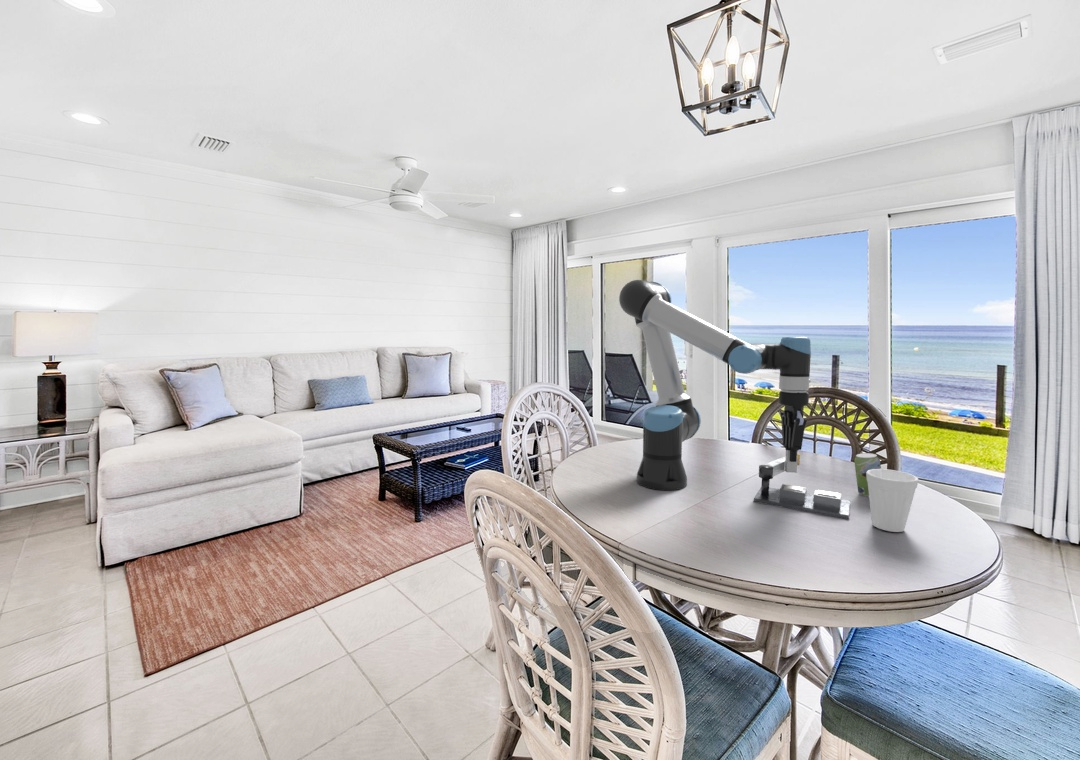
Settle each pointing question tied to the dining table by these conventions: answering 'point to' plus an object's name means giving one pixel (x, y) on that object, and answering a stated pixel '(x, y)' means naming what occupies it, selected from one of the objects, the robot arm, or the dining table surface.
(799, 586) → the dining table surface
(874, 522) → the cup
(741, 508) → the dining table surface
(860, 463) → the beverage can
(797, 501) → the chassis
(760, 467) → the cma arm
